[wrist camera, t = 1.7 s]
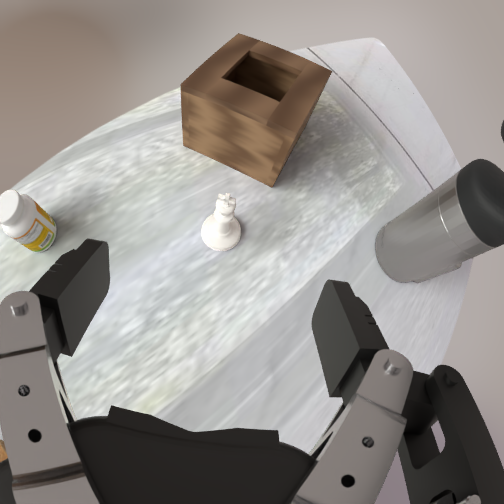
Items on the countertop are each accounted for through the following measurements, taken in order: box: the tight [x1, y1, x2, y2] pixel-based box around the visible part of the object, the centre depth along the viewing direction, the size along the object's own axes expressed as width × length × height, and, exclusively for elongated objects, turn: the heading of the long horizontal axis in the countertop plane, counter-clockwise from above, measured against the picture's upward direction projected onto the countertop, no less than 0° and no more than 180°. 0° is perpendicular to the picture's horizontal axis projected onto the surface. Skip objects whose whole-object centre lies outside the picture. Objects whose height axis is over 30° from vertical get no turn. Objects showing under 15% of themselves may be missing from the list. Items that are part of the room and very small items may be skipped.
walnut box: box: [181, 33, 332, 187], centre depth 37 cm, size 14×14×12 cm
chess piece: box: [201, 193, 241, 251], centre depth 33 cm, size 5×5×10 cm
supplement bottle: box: [0, 190, 56, 252], centre depth 29 cm, size 5×5×10 cm
